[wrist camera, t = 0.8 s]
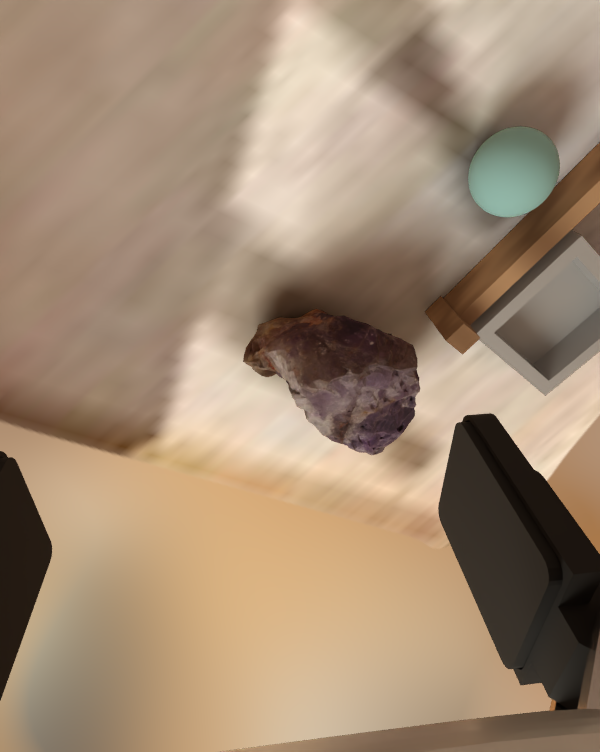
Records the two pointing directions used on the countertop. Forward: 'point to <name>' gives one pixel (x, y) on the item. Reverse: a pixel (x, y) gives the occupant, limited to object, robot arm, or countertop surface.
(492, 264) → the rail
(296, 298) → the countertop surface
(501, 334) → the dish
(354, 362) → the rock
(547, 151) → the ball
